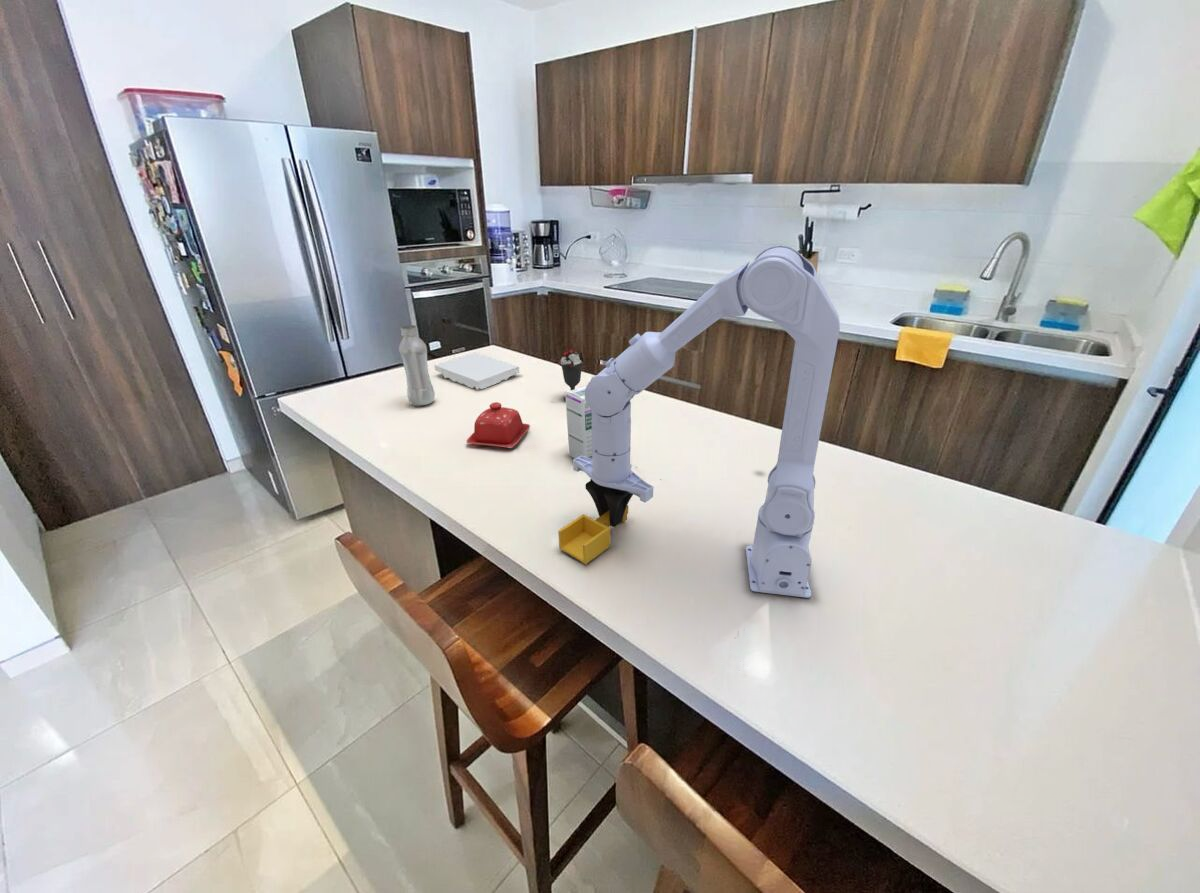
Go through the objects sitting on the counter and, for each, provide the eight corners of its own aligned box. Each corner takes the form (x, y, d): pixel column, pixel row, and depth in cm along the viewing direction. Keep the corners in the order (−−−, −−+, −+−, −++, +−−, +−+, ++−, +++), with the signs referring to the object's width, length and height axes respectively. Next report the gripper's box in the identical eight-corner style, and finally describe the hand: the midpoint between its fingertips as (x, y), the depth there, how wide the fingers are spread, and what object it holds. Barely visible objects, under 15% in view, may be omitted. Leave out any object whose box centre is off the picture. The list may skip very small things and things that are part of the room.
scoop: (585, 564, 73) (585, 546, 72) (559, 548, 77) (558, 530, 75) (637, 525, 82) (638, 507, 80) (611, 512, 85) (611, 495, 83)
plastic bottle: (408, 401, 131) (392, 325, 121) (434, 397, 133) (421, 322, 124) (410, 410, 126) (394, 331, 116) (438, 405, 128) (424, 328, 119)
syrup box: (585, 466, 100) (583, 398, 93) (567, 455, 104) (564, 390, 97) (607, 457, 103) (606, 391, 96) (589, 446, 107) (587, 383, 100)
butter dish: (464, 447, 107) (458, 411, 103) (487, 425, 117) (482, 391, 113) (513, 453, 105) (509, 416, 101) (532, 429, 115) (530, 395, 111)
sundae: (556, 402, 129) (553, 345, 122) (565, 393, 135) (563, 338, 128) (580, 405, 127) (578, 347, 120) (588, 395, 133) (587, 340, 126)
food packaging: (519, 377, 147) (476, 362, 158) (518, 366, 146) (475, 352, 157) (479, 392, 137) (436, 375, 148) (478, 381, 136) (434, 365, 146)
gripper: (667, 452, 72) (662, 527, 79) (593, 424, 81) (594, 494, 87) (637, 471, 68) (635, 549, 74) (562, 439, 76) (566, 512, 82)
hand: (611, 521), depth 80 cm, fingers closed on scoop
